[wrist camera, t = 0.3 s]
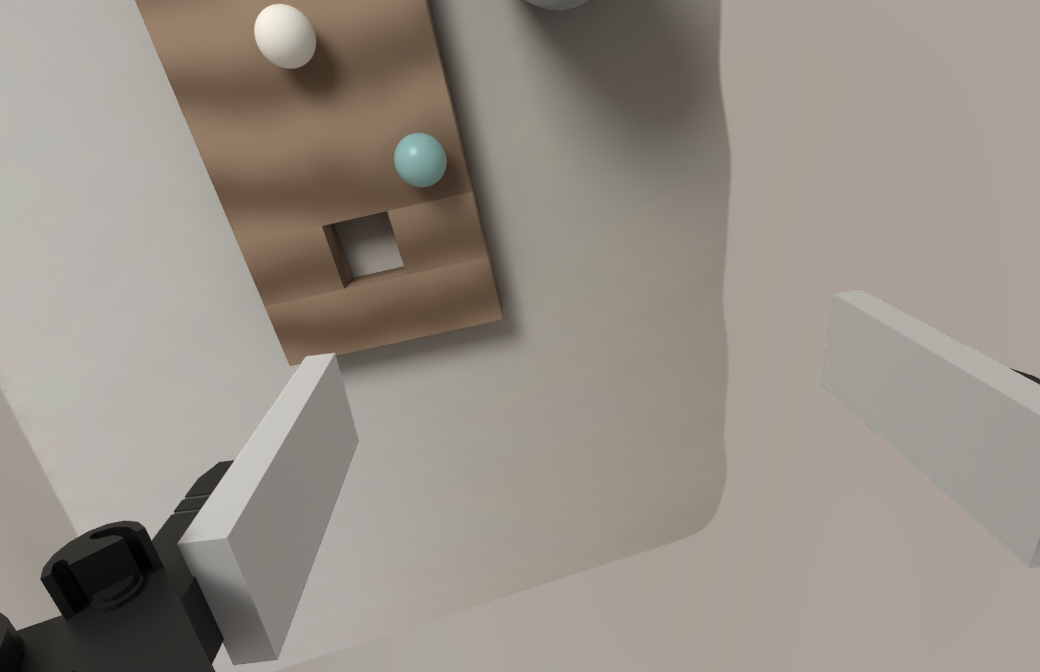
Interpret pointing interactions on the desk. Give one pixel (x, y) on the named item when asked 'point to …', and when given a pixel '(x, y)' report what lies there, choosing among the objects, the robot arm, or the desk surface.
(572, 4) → the cup
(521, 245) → the desk surface
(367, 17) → the board
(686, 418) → the desk surface
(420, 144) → the teal ball
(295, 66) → the ball
